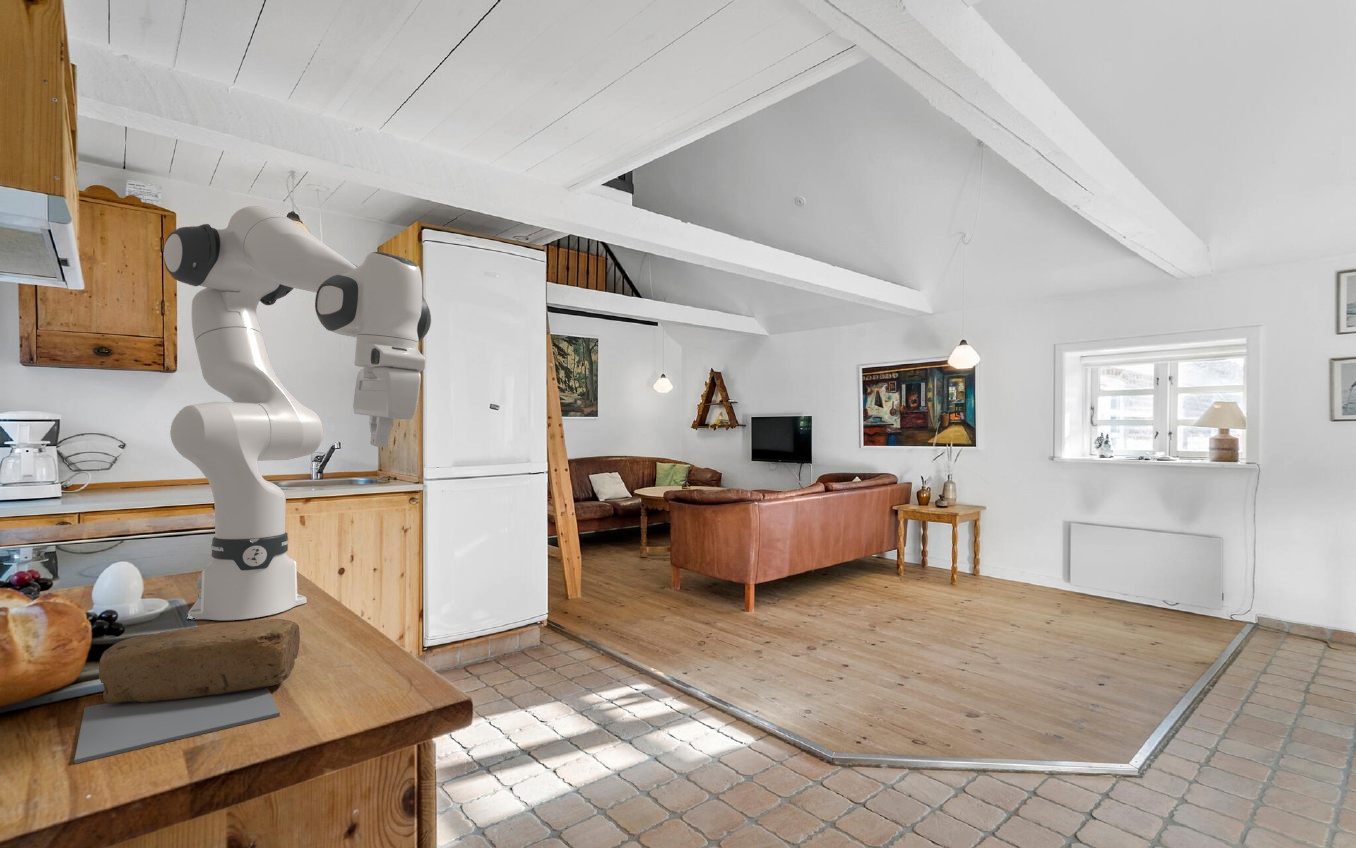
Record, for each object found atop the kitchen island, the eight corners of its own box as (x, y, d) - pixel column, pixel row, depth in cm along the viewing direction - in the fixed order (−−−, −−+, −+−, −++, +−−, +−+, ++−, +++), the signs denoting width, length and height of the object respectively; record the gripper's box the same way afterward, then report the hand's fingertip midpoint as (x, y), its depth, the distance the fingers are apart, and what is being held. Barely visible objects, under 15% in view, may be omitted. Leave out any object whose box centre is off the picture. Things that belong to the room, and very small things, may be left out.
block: (284, 632, 83) (90, 653, 77) (285, 690, 83) (92, 716, 77) (302, 609, 94) (133, 626, 87) (303, 661, 94) (134, 681, 87)
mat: (84, 710, 78) (84, 707, 78) (260, 676, 90) (260, 673, 90) (74, 764, 66) (74, 760, 66) (279, 716, 77) (279, 712, 77)
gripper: (347, 357, 107) (339, 441, 107) (385, 352, 91) (376, 450, 91) (387, 362, 111) (380, 442, 111) (430, 358, 95) (422, 452, 95)
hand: (379, 446), depth 101 cm, fingers closed
